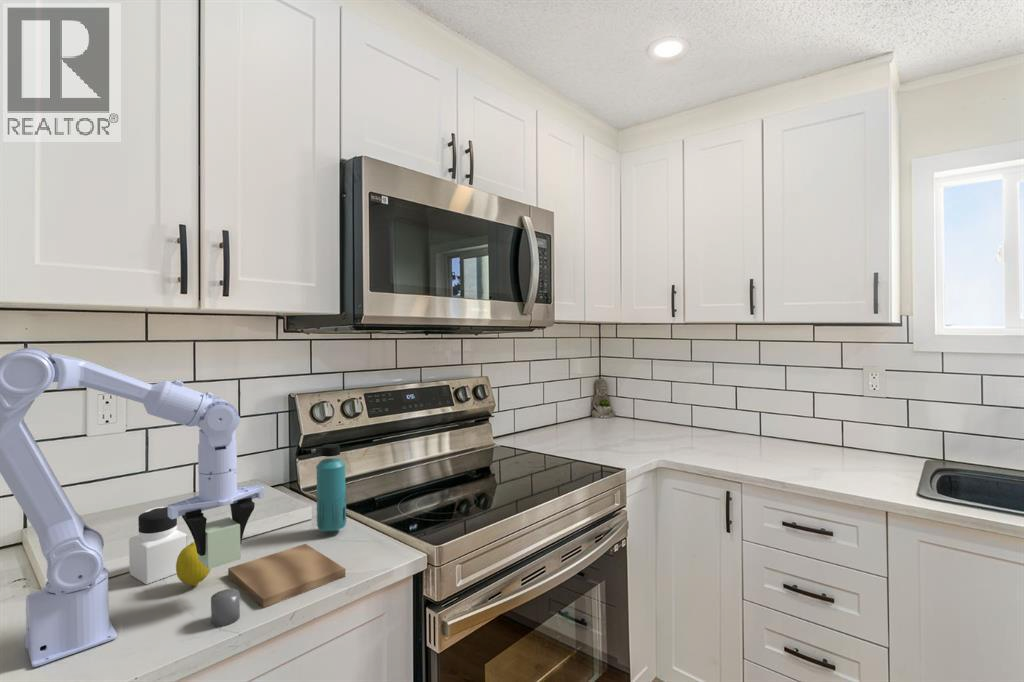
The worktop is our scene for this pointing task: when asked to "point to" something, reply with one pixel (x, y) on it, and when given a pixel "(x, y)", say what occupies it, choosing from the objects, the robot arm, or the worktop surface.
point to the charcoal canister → (225, 607)
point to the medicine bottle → (155, 546)
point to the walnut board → (285, 574)
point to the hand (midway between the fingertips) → (219, 548)
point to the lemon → (190, 566)
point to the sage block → (221, 543)
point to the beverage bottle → (331, 490)
